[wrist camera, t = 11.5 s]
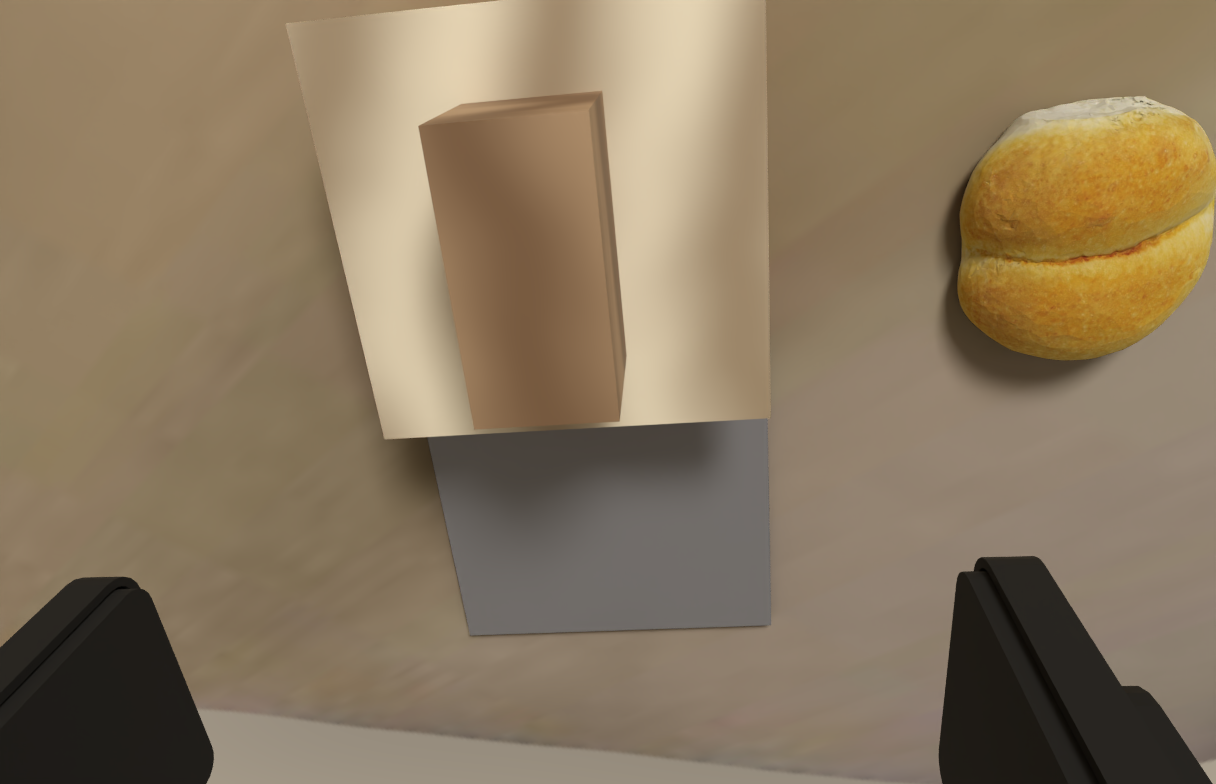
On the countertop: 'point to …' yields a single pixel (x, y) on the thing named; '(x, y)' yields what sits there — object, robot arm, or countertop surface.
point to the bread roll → (1086, 226)
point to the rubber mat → (609, 526)
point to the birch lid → (549, 209)
